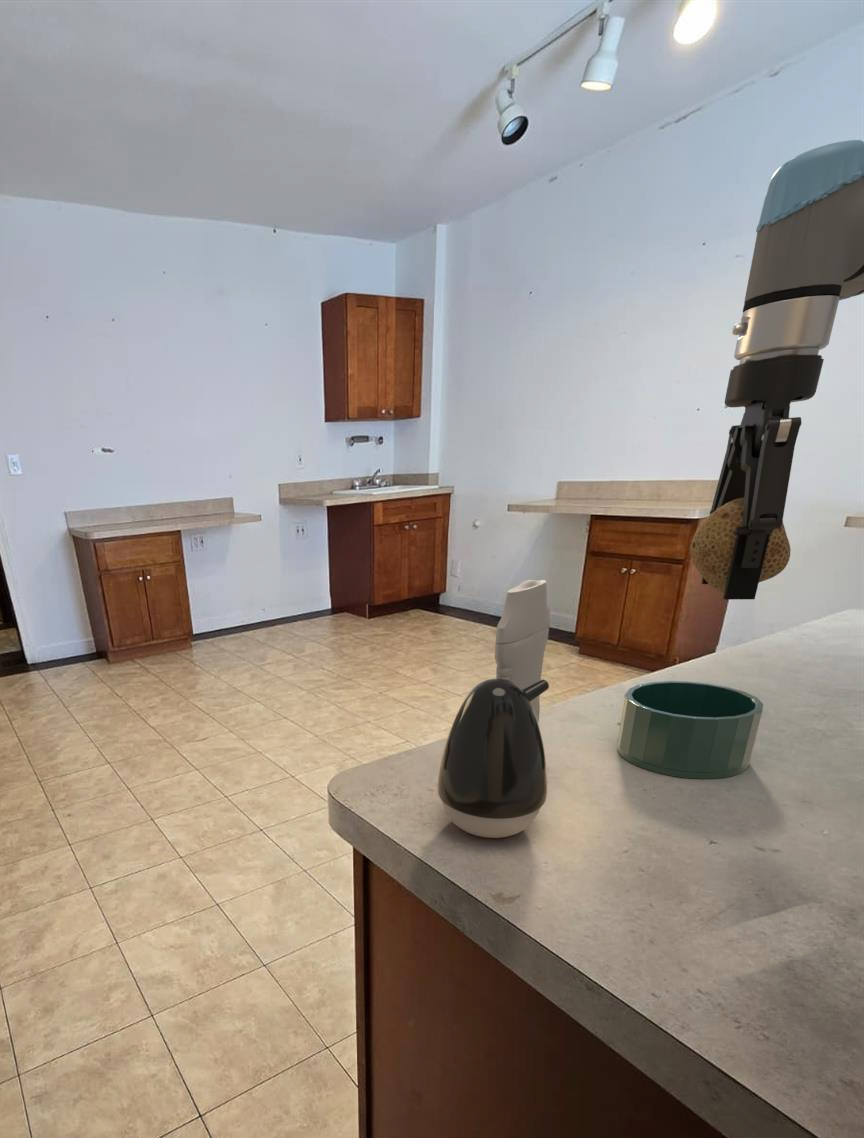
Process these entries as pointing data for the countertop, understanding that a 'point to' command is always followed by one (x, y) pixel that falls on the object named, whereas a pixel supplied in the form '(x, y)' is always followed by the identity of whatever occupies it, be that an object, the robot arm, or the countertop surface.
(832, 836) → the countertop surface
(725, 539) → the natural sponge
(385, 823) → the countertop surface
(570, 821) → the countertop surface
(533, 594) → the plastic bottle
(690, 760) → the crock
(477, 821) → the pump dispenser
